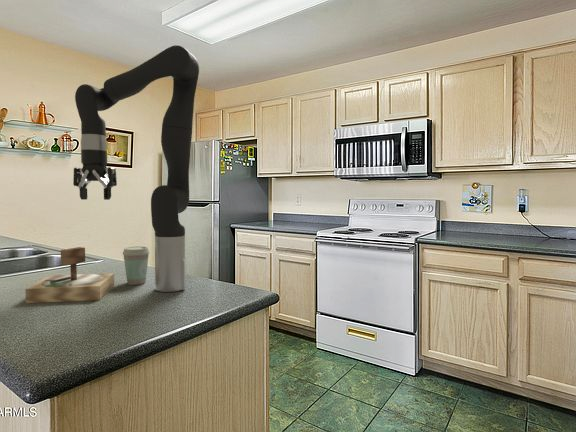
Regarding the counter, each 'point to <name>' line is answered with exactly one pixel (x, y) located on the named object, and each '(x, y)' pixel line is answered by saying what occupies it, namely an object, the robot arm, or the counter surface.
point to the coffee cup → (136, 264)
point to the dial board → (70, 288)
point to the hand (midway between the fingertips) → (95, 199)
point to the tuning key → (71, 261)
